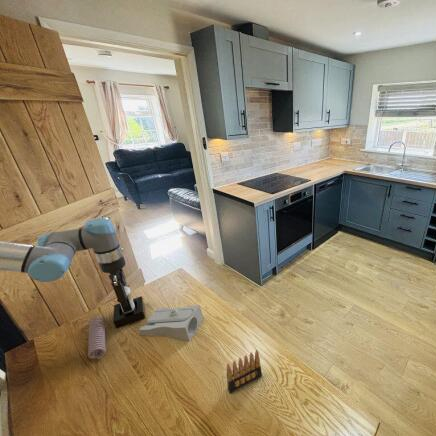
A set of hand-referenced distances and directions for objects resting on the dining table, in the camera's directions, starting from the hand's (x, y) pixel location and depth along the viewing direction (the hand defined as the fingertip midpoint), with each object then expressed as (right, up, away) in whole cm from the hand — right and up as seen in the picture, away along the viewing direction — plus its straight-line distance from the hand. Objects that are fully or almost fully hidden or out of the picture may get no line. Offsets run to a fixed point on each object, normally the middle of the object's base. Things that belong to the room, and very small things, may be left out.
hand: (128, 306), depth 96 cm
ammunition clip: (+52, -16, -21) cm, 59 cm away
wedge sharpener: (+20, -7, -3) cm, 21 cm away
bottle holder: (0, -4, +2) cm, 5 cm away
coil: (-4, -9, -9) cm, 14 cm away
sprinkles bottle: (0, -4, +2) cm, 5 cm away
